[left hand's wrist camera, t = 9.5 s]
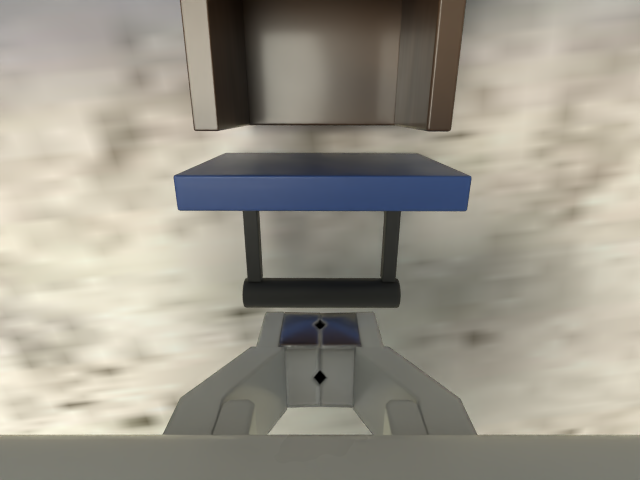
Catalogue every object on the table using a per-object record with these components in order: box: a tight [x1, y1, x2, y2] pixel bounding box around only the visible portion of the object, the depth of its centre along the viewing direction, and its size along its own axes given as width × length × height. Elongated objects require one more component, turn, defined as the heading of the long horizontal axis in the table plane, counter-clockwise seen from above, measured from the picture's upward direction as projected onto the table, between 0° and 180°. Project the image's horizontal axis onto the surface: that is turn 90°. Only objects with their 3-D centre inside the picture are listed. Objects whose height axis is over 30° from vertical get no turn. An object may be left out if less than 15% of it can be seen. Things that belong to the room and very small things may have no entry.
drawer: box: [174, 0, 471, 308], centre depth 14 cm, size 21×10×7 cm, turn 0°
